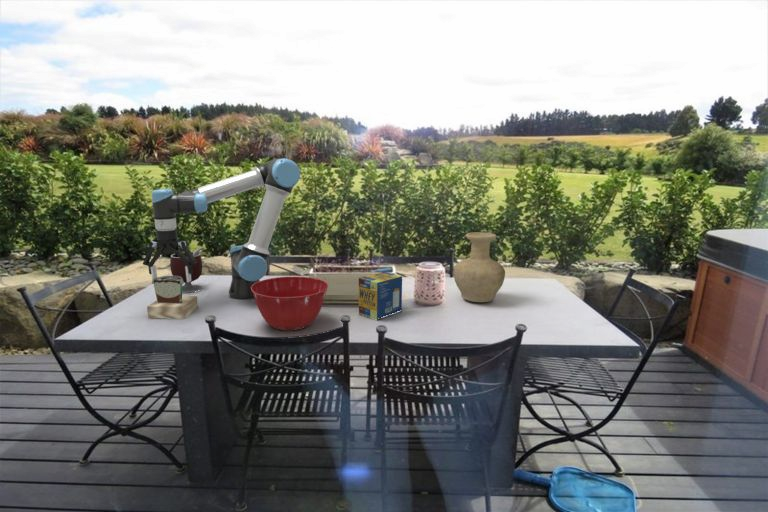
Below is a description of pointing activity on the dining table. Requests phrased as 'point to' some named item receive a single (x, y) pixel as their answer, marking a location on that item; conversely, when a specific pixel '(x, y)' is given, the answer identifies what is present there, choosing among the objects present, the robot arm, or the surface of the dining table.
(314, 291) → the mixing bowl
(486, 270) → the vase
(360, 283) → the protein box
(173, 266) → the mate gourd
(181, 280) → the food container
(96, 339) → the dining table surface
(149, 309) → the birch platform
